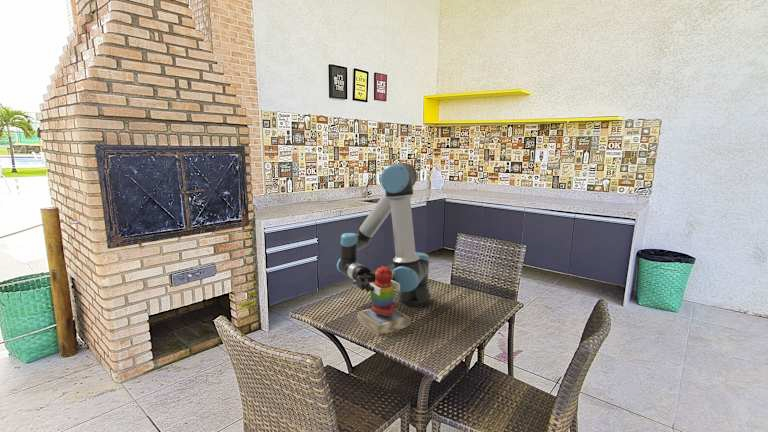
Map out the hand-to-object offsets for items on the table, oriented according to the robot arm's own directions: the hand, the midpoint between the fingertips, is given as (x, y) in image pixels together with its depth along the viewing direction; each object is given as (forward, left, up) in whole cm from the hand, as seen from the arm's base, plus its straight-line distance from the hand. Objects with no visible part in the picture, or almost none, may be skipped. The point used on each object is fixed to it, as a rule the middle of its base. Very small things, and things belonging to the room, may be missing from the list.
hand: (389, 289), depth 148 cm
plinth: (-1, -5, -16) cm, 17 cm away
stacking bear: (0, -4, -10) cm, 11 cm away
